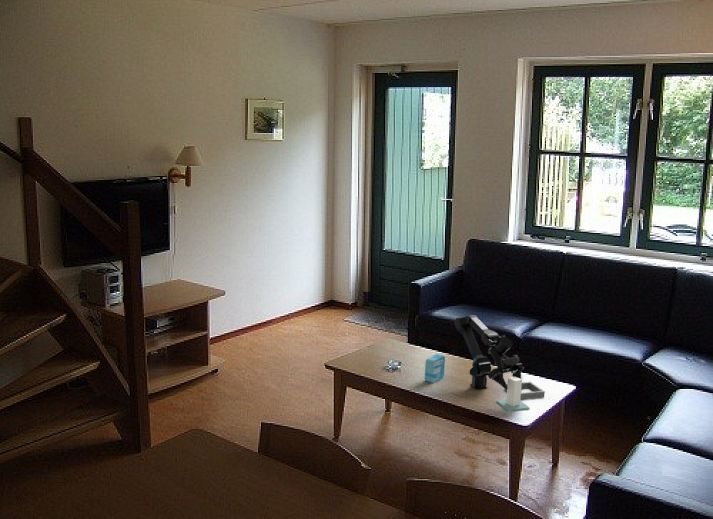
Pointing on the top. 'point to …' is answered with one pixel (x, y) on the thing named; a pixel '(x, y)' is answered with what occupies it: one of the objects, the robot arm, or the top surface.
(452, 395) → the top surface
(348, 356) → the top surface
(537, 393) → the gray square frame
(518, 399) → the block
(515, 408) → the teal mat
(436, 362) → the light blue upright slab
